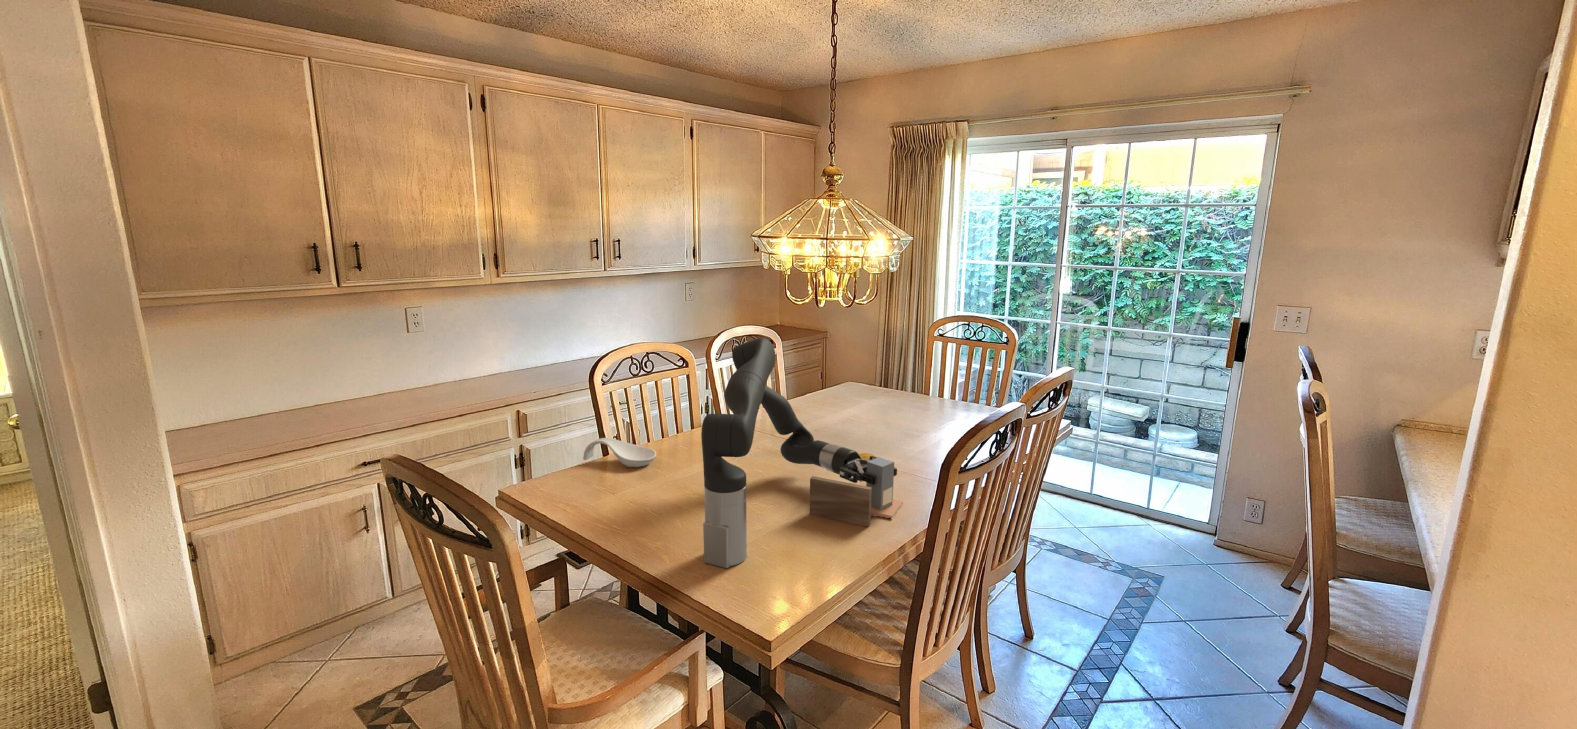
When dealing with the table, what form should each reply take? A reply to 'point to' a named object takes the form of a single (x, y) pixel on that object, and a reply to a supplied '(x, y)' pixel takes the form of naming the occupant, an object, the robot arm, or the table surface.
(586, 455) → the spoon rest
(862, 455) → the bread roll
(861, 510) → the walnut screen
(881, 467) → the slate block
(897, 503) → the terracotta tile
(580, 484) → the table surface
